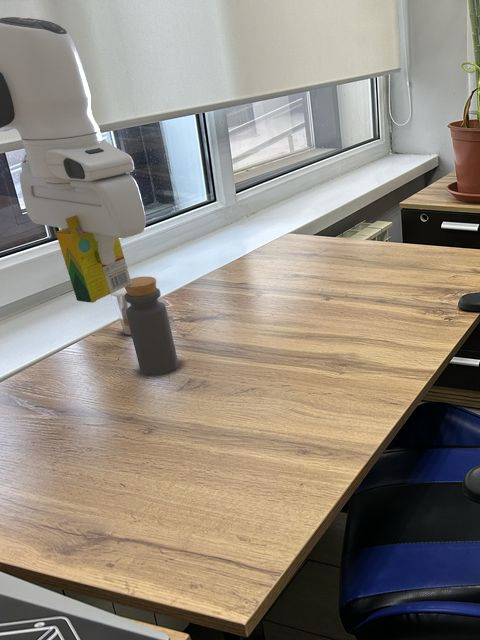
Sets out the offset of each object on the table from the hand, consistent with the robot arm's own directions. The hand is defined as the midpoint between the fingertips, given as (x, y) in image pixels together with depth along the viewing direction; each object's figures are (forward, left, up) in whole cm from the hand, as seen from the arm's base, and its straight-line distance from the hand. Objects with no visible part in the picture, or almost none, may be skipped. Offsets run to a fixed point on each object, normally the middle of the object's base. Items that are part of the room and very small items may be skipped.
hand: (96, 261), depth 96 cm
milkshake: (-21, +17, -22) cm, 35 cm away
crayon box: (0, 0, -5) cm, 5 cm away
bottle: (-5, +9, -22) cm, 25 cm away
